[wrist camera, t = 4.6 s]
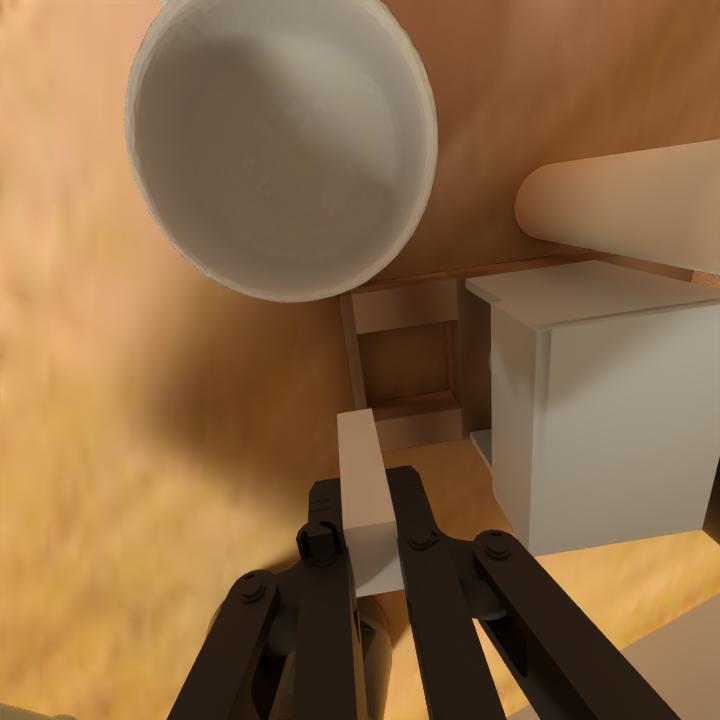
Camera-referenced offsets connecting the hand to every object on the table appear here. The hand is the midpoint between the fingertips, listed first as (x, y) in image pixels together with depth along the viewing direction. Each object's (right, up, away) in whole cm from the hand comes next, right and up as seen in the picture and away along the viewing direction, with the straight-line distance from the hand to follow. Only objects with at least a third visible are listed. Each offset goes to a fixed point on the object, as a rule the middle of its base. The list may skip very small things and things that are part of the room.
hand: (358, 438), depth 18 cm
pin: (+11, +12, +5) cm, 17 cm away
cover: (+9, +4, +6) cm, 12 cm away
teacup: (-4, +15, +3) cm, 16 cm away
